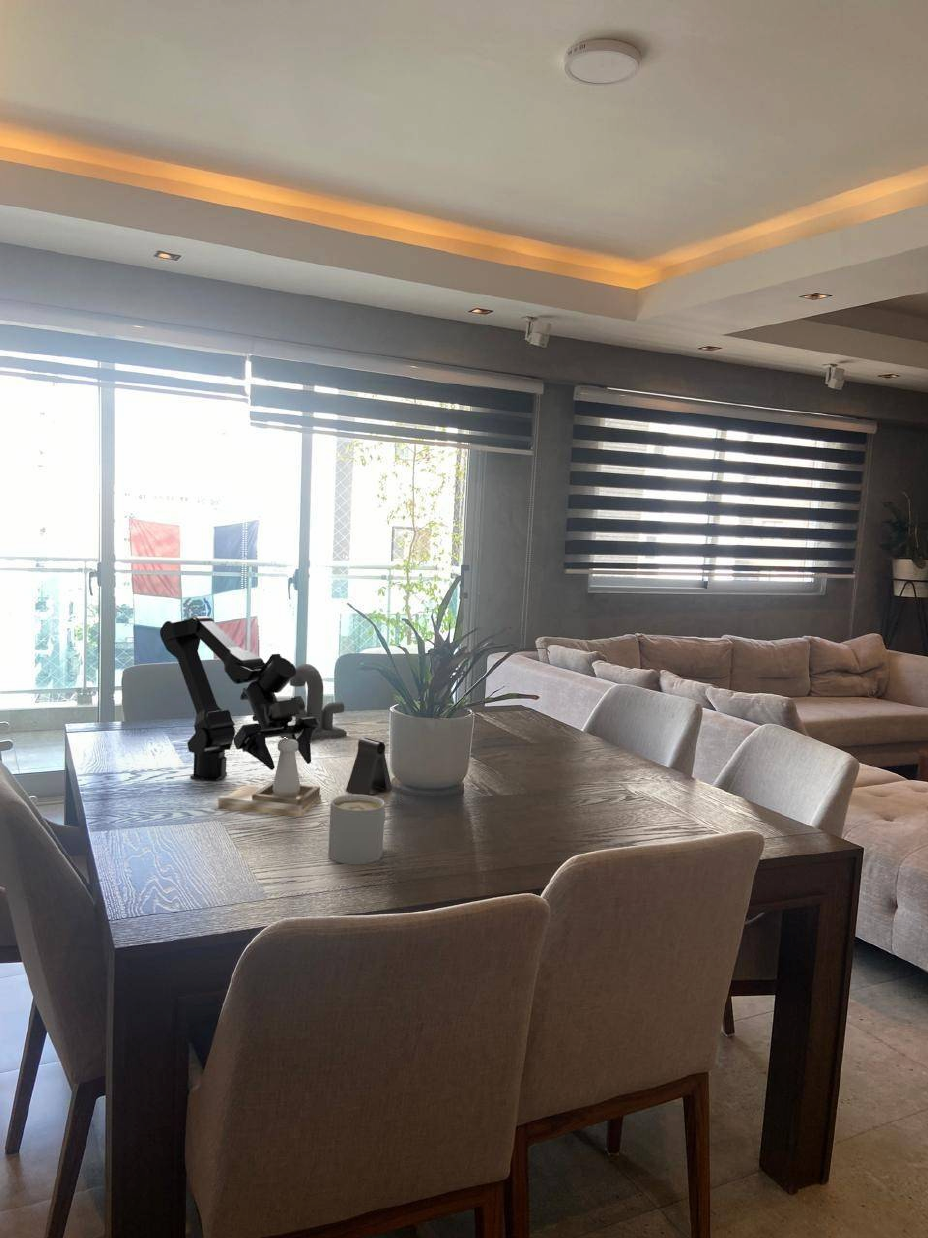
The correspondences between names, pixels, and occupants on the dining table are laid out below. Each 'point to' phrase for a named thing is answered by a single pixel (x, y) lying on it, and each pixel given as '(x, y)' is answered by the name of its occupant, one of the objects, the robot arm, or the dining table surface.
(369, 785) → the dark brown phone stand
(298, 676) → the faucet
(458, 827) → the dining table surface
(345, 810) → the coffee mug
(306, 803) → the wooden tray
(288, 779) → the salt shaker
